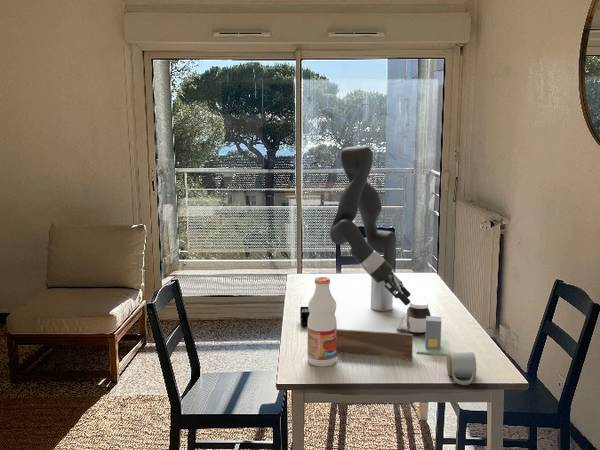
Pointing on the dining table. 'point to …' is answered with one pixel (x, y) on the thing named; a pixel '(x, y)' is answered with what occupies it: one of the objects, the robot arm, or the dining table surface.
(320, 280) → the fruit juice
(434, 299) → the dining table surface
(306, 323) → the end cap
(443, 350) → the sage mat
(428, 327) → the slate block
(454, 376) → the ceramic mug
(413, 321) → the spread jar
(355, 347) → the walnut screen
